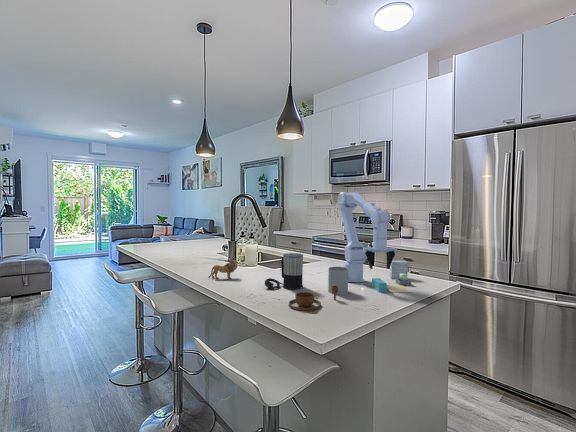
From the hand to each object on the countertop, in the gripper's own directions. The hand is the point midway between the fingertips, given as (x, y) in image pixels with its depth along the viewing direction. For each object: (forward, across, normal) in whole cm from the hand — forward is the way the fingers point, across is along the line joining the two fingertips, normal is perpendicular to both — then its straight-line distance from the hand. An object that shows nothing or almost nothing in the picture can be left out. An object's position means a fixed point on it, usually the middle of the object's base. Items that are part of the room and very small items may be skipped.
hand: (379, 268), depth 143 cm
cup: (+10, -19, -4) cm, 22 cm away
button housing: (+9, +14, +9) cm, 19 cm away
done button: (+7, +14, +9) cm, 18 cm away
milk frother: (+10, -42, +3) cm, 43 cm away
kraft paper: (+9, +8, +1) cm, 12 cm away
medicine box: (+10, +16, +21) cm, 28 cm away
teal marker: (+10, 0, 0) cm, 10 cm away
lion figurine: (+10, -72, +21) cm, 76 cm away
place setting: (+10, -30, -23) cm, 39 cm away
